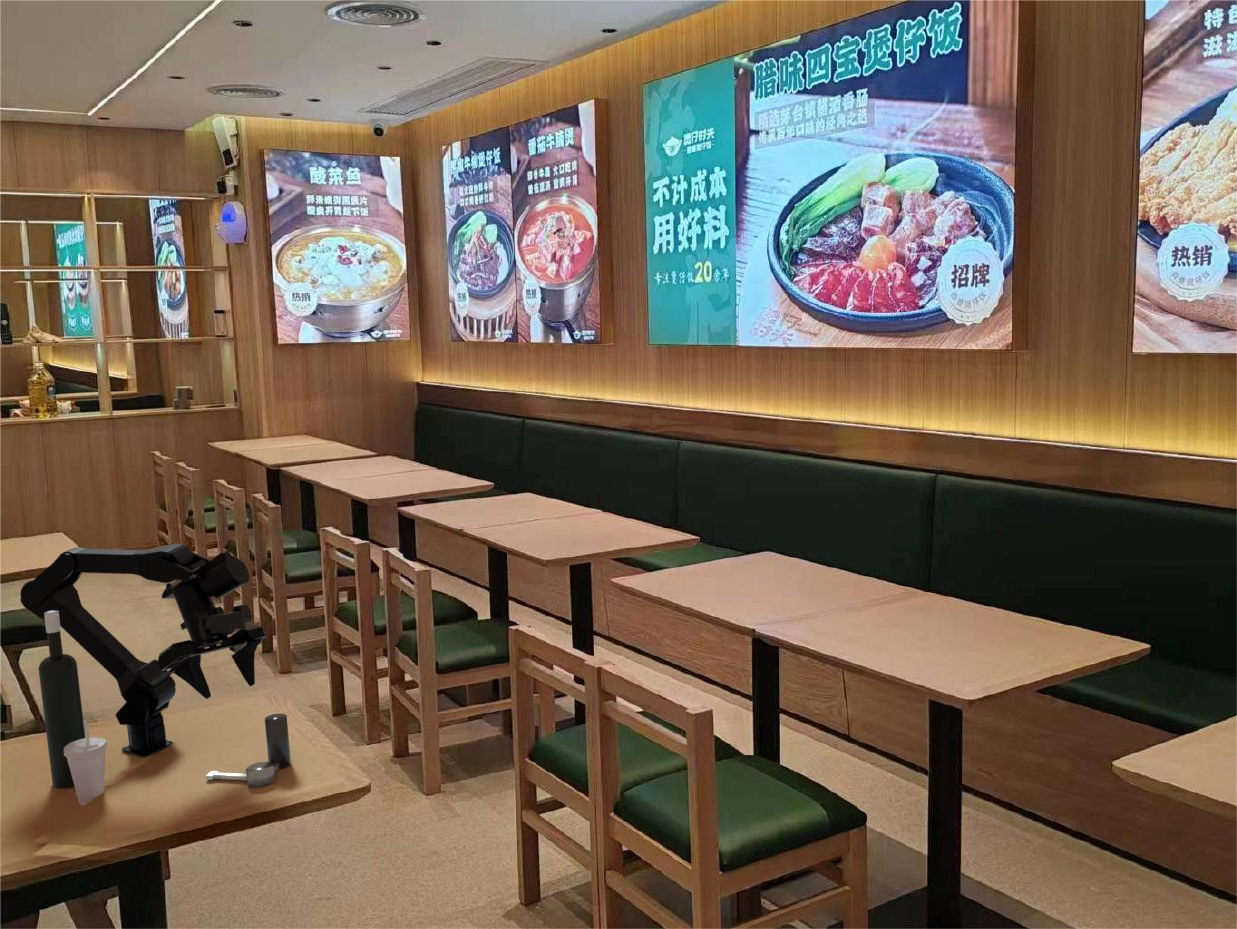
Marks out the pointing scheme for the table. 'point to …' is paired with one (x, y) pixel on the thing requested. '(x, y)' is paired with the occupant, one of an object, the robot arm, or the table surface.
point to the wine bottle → (60, 702)
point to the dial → (277, 755)
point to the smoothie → (87, 765)
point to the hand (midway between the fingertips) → (231, 691)
